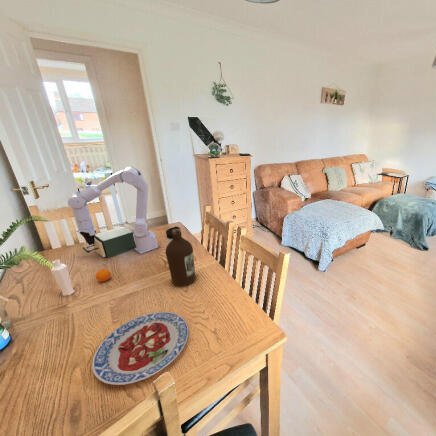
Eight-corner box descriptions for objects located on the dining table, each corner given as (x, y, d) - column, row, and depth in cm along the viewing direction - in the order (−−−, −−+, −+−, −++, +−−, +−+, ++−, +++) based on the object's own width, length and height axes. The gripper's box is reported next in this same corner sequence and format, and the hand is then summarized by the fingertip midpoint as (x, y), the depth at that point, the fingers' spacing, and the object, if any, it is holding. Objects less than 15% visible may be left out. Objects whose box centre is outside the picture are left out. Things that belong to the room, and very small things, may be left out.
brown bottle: (166, 286, 103) (155, 234, 93) (179, 272, 112) (171, 224, 103) (189, 288, 102) (181, 236, 92) (200, 274, 112) (194, 225, 102)
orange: (109, 275, 108) (106, 265, 106) (114, 279, 106) (111, 269, 104) (95, 280, 104) (92, 271, 102) (100, 285, 102) (96, 275, 100)
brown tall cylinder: (188, 262, 120) (183, 226, 112) (181, 270, 114) (175, 232, 106) (176, 261, 120) (170, 225, 113) (169, 269, 114) (162, 231, 107)
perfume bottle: (58, 294, 96) (45, 262, 90) (72, 287, 99) (60, 257, 94) (64, 298, 94) (50, 266, 88) (77, 291, 98) (65, 260, 92)
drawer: (91, 261, 116) (86, 247, 113) (83, 254, 121) (78, 241, 118) (130, 247, 129) (126, 234, 126) (121, 242, 135) (118, 229, 132)
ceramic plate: (88, 345, 76) (85, 338, 74) (172, 305, 92) (171, 299, 91) (103, 412, 59) (99, 404, 58) (202, 349, 76) (201, 342, 75)
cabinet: (107, 257, 121) (103, 241, 117) (98, 250, 127) (93, 234, 123) (136, 247, 131) (132, 231, 128) (126, 241, 137) (122, 226, 134)
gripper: (67, 217, 114) (76, 242, 119) (78, 225, 107) (87, 252, 112) (85, 213, 119) (93, 237, 125) (97, 221, 112) (104, 246, 117)
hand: (91, 244), depth 119 cm, fingers closed
